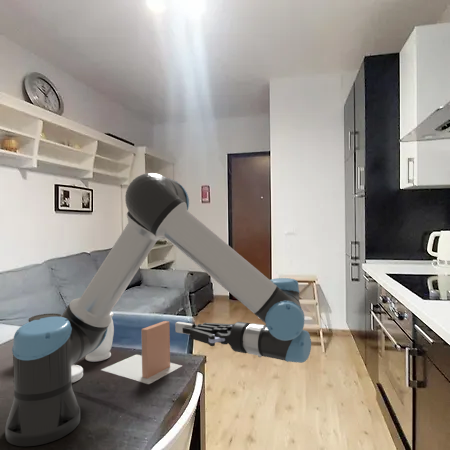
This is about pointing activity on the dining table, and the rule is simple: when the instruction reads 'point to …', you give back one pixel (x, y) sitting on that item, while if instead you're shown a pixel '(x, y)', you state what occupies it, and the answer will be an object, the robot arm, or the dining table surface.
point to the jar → (103, 345)
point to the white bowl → (76, 373)
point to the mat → (137, 369)
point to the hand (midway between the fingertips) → (177, 326)
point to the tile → (155, 348)
